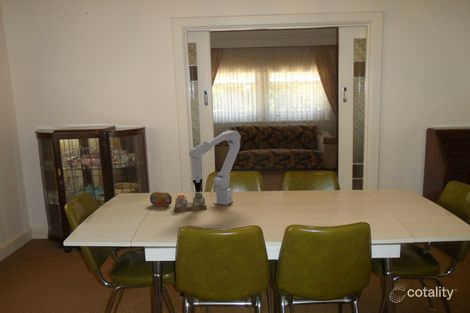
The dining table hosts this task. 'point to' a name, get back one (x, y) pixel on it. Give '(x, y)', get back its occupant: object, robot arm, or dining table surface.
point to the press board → (190, 204)
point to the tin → (160, 199)
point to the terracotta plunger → (181, 196)
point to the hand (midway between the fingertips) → (198, 191)
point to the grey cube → (198, 195)
